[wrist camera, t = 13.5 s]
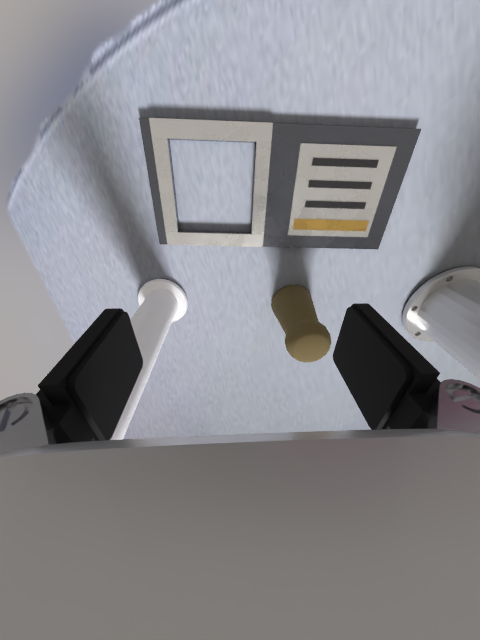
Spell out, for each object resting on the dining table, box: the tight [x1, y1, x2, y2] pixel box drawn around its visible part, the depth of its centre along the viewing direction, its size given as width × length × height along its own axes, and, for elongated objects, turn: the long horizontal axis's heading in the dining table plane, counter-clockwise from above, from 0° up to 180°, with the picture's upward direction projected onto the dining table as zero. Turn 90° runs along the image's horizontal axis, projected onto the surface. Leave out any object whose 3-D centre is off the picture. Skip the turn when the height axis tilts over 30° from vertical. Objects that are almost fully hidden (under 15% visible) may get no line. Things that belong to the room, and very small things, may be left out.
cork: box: [271, 285, 331, 362], centre depth 30 cm, size 6×6×11 cm
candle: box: [110, 279, 188, 440], centre depth 23 cm, size 7×7×25 cm
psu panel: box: [139, 118, 421, 249], centre depth 26 cm, size 28×12×1 cm, turn 88°
